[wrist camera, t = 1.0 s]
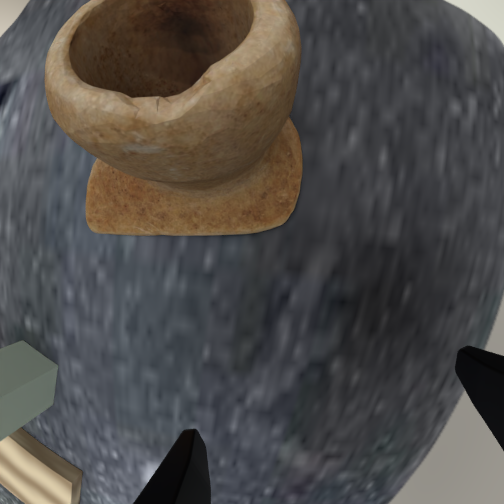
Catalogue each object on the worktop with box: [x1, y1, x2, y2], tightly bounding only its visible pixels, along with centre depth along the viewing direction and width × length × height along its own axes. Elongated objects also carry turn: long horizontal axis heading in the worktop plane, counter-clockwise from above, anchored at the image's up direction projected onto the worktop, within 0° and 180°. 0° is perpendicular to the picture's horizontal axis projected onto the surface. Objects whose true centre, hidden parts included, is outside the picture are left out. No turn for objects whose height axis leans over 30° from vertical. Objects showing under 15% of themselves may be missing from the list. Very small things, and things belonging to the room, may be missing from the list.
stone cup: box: [45, 0, 302, 236], centre depth 15 cm, size 15×12×15 cm
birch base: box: [0, 427, 83, 504], centre depth 24 cm, size 14×14×2 cm
